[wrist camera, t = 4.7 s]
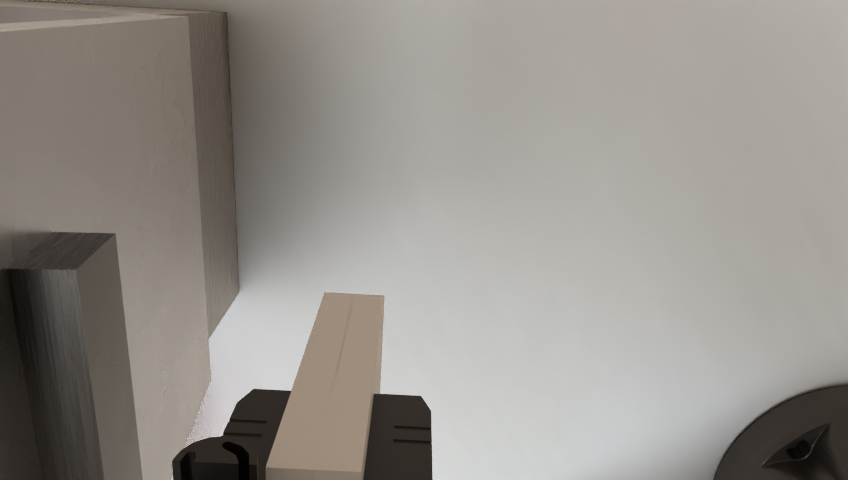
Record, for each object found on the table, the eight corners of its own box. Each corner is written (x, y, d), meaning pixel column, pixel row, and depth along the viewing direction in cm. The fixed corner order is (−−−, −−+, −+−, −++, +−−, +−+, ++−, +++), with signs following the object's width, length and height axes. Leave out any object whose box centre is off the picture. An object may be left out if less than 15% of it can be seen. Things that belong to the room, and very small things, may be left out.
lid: (153, 14, 23) (222, 18, 24) (182, 379, 28) (239, 379, 29) (-225, 36, 8) (-25, 46, 9) (-21, 801, 13) (102, 794, 14)
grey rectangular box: (226, 12, 32) (155, 14, 24) (239, 291, 37) (184, 376, 29) (-155, -10, 32) (-366, -16, 23) (-90, 275, 37) (-244, 356, 28)
